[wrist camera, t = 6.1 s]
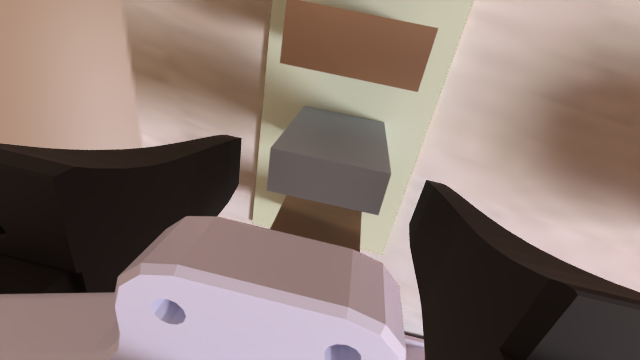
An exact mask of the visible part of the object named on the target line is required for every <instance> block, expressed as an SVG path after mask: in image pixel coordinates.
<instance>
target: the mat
mask: <svg viewBox="0 0 640 360" xmlns="http://www.w3.org/2000/svg"><path fill="white" fill-rule="evenodd" d="M286 1H287V0H272V6H271V18H270V29H269V40H268V51H267V63H266V74H265V85H264V96H263V108H262V119H261V130H260V141H259V153H258V164H257V175H256V186H255V197H254V209H253V220H252V224H256V225H260V226H264V227H268V228H271V226H272V224H273V222H274V220H275V218H276V216H277V214H278V212H279V209H280V207H281V205H282V203H283V201H284V199H285V197H286V195H284V194H280V193H275V192H271V191H266V190H267V180H268V169H269V159H270V149H271V147H272V146H273V144H274V143H275V142H276V141H277V139H278V138H279V137H280V136H281V134H282V133H283V132H284V131H285V129H286V128H287V127H288V126H289V124H290V123H291V122H292V121H293V119H294V118H295V117H296V116H297V114H298V113H299V112H300V111H301V109H302V108H303V107H304V106H308V107H313V108H317V109H322V110H327V111H332V112H337V113H342V114H346V115H351V116H356V117H361V118H366V119H371V120H376V121H380V122H384V124H385V131H386V139H387V146H388V153H389V160H390V168H391V177H390V180H389V183H388V186H387V189H386V193H385V196H384V199H383V202H382V205H381V209H380V212H379V215H374V214H370V213H365V212H362V216H361V237H360V249H361V250H365V251H369V252H374V253H378V254H382V255H383V252H384V249H385V246H386V244H387V241H388V238H389V235H390V232H391V230H392V227H393V224H394V221H395V219H396V216H397V213H398V210H399V207H400V205H401V202H402V199H403V196H404V193H405V191H406V188H407V185H408V182H409V180H410V177H411V174H412V171H413V168H414V166H415V163H416V160H417V157H418V154H419V152H420V149H421V146H422V143H423V141H424V138H425V135H426V132H427V129H428V127H429V124H430V121H431V118H432V116H433V113H434V110H435V107H436V104H437V102H438V99H439V96H440V93H441V90H442V88H443V85H444V82H445V79H446V77H447V74H448V71H449V68H450V65H451V63H452V60H453V57H454V54H455V51H456V49H457V46H458V43H459V40H460V38H461V35H462V32H463V29H464V26H465V24H466V21H467V18H468V15H469V13H470V10H471V7H472V4H473V1H474V0H301V1H306V2H311V3H316V4H321V5H326V6H331V7H336V8H341V9H346V10H351V11H356V12H361V13H366V14H371V15H375V16H380V17H385V18H390V19H395V20H400V21H405V22H410V23H415V24H420V25H425V26H430V27H435V28H438V31H437V34H436V37H435V41H434V44H433V47H432V50H431V53H430V56H429V59H428V62H427V65H426V68H425V71H424V74H423V78H422V81H421V84H420V87H419V90H418V92H415V91H410V90H405V89H400V88H396V87H391V86H386V85H382V84H377V83H372V82H367V81H363V80H358V79H353V78H348V77H344V76H339V75H334V74H329V73H325V72H320V71H315V70H310V69H306V68H301V67H296V66H291V65H287V64H282V63H280V56H281V47H282V38H283V28H284V19H285V10H286Z"/></svg>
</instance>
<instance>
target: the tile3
mask: <svg viewBox="0 0 640 360" xmlns="http://www.w3.org/2000/svg"><path fill="white" fill-rule="evenodd" d="M437 31H438V28H435V27H430V26H425V25H420V24H415V23H410V22H405V21H400V20H395V19H390V18H385V17H380V16H375V15H371V14H366V13H361V12H356V11H351V10H346V9H341V8H336V7H331V6H326V5H321V4H316V3H311V2H306V1H301V0H287V1H286V10H285V19H284V28H283V38H282V47H281V56H280V63H282V64H287V65H291V66H296V67H301V68H306V69H310V70H315V71H320V72H325V73H329V74H334V75H339V76H344V77H348V78H353V79H358V80H363V81H367V82H372V83H377V84H382V85H386V86H391V87H396V88H400V89H405V90H410V91H415V92H418V90H419V87H420V84H421V81H422V78H423V74H424V71H425V68H426V65H427V62H428V59H429V56H430V53H431V50H432V47H433V44H434V41H435V37H436V34H437Z"/></svg>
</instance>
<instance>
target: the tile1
mask: <svg viewBox="0 0 640 360" xmlns="http://www.w3.org/2000/svg"><path fill="white" fill-rule="evenodd" d="M361 216H362V212H361V211H356V210H352V209H347V208H343V207H338V206H334V205H329V204H325V203H320V202H316V201H311V200H307V199H302V198H298V197H293V196H289V195H286V197H285V199H284V201H283V203H282V205H281V207H280V209H279V212H278V214H277V216H276V218H275V220H274V222H273V224H272V226H271V228H270V229H271V230H275V231H279V232H283V233H287V234H292V235H296V236H300V237H304V238H308V239H312V240H317V241H321V242H325V243H329V244H333V245H337V246H341V247H346V248H350V249H354V250H356V251H358V252H360V237H361Z"/></svg>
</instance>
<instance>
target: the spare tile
mask: <svg viewBox="0 0 640 360" xmlns="http://www.w3.org/2000/svg"><path fill="white" fill-rule="evenodd" d="M390 177H391V168H390V160H389V153H388V146H387V139H386V131H385V124H384V122H380V121H376V120H371V119H366V118H361V117H356V116H351V115H346V114H342V113H337V112H332V111H327V110H322V109H317V108H313V107H308V106H304V107H303V108H302V109H301V111H300V112H299V113H298V114H297V116H296V117H295V118H294V119H293V121H292V122H291V123H290V124H289V126H288V127H287V128H286V129H285V131H284V132H283V133H282V134H281V136H280V137H279V138H278V139H277V141H276V142H275V143H274V144H273V146H272V147H271V149H270V159H269V169H268V180H267V190H266V191H271V192H275V193H280V194H284V195H289V196H293V197H298V198H302V199H307V200H311V201H316V202H320V203H325V204H329V205H334V206H338V207H343V208H347V209H352V210H356V211H361V212H365V213H370V214H374V215H379V212H380V209H381V205H382V202H383V199H384V196H385V193H386V189H387V186H388V183H389V180H390Z"/></svg>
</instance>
